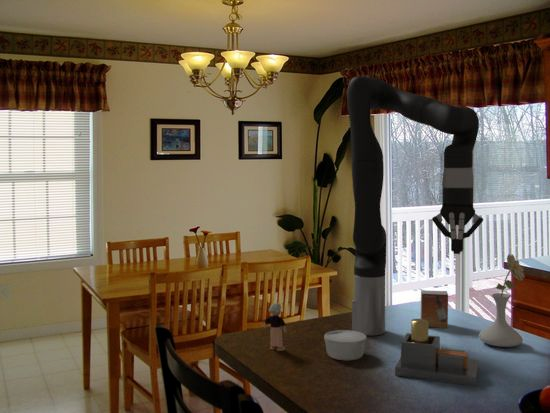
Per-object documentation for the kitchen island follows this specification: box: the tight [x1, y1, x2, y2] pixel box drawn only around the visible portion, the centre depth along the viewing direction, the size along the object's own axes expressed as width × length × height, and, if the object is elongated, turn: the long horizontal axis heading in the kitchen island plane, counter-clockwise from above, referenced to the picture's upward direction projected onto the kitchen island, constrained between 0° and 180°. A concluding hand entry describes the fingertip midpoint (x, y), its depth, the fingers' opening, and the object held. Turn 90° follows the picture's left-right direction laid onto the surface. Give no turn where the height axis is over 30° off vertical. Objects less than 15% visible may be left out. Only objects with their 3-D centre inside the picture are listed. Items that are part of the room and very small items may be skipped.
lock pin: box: [437, 348, 469, 369], centre depth 135 cm, size 9×3×3 cm, turn 67°
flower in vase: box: [478, 253, 526, 348], centre depth 156 cm, size 13×11×25 cm
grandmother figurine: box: [262, 302, 288, 352], centre depth 154 cm, size 8×4×13 cm, turn 65°
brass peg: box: [410, 318, 429, 344], centre depth 137 cm, size 4×4×10 cm
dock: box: [394, 332, 480, 387], centre depth 136 cm, size 18×12×8 cm, turn 67°
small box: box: [419, 289, 449, 329], centre depth 175 cm, size 8×6×10 cm
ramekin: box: [323, 329, 368, 361], centre depth 149 cm, size 11×11×5 cm
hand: (456, 253), depth 145 cm, fingers closed
